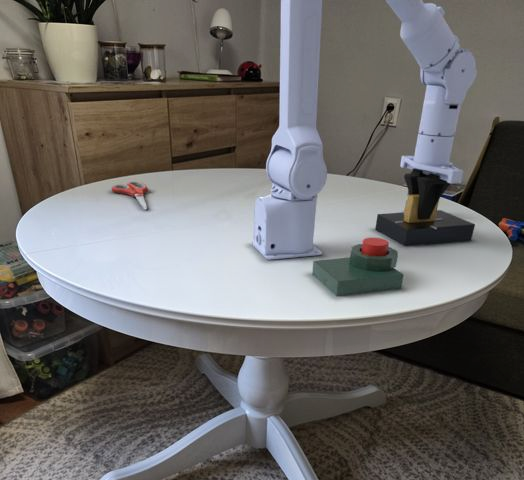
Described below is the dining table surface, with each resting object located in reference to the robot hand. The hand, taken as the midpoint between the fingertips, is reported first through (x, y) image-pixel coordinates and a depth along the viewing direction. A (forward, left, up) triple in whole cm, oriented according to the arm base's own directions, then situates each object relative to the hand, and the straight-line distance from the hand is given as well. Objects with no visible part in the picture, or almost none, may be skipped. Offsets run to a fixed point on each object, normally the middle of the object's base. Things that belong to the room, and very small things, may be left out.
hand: (419, 217), depth 86 cm
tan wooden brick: (0, 0, -1) cm, 1 cm away
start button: (-18, -15, 0) cm, 23 cm away
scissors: (-44, +40, -4) cm, 60 cm away
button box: (-21, -16, -4) cm, 27 cm away
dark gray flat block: (+2, +1, -4) cm, 4 cm away
